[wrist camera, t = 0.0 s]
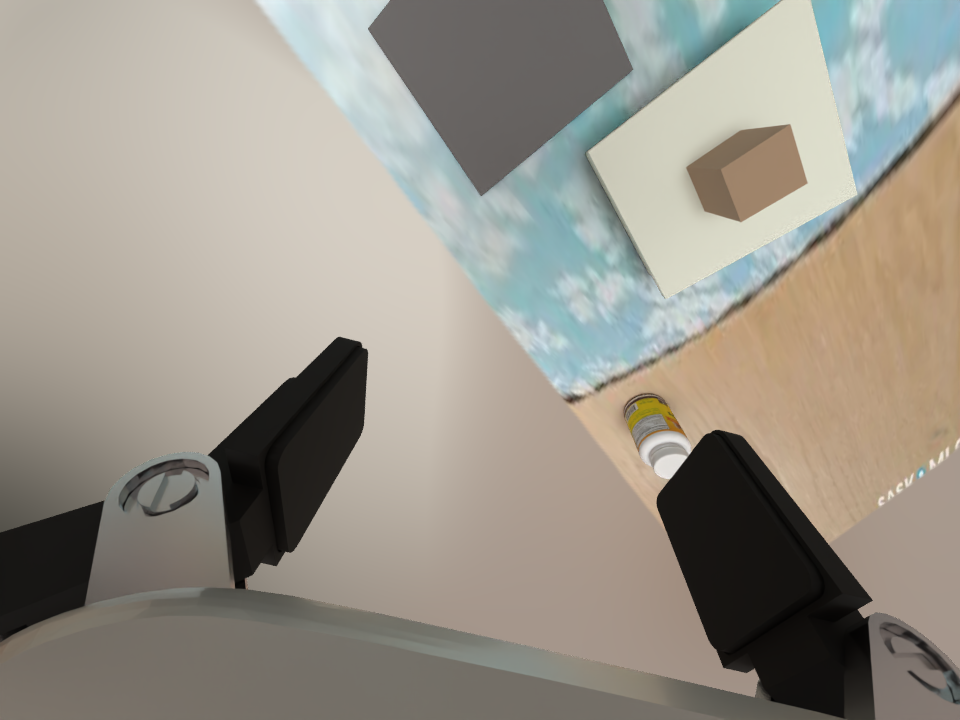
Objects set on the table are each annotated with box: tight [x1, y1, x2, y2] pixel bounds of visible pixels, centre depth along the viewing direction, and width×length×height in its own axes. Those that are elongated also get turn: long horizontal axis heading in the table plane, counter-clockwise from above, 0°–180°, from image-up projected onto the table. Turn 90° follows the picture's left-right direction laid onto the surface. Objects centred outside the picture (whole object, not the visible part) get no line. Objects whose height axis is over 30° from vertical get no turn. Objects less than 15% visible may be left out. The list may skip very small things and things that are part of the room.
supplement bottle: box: [624, 395, 691, 479], centre depth 42 cm, size 6×6×10 cm
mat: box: [368, 0, 633, 196], centre depth 29 cm, size 16×16×1 cm
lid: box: [586, 0, 857, 299], centre depth 25 cm, size 15×15×6 cm
